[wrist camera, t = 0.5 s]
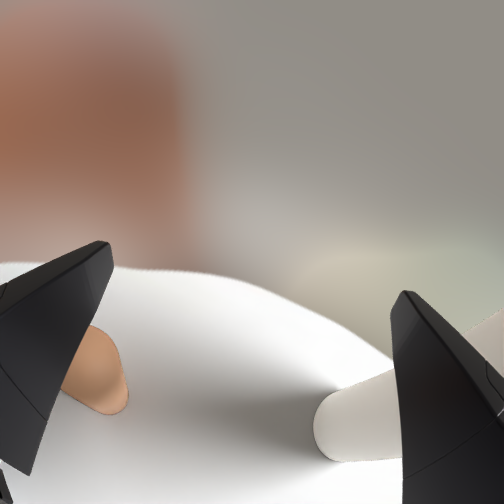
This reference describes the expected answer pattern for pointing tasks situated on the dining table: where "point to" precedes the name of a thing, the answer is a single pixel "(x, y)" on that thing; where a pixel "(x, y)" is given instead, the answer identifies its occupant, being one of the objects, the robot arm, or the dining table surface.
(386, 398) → the cylindrical container
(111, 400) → the peg
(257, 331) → the dining table surface
